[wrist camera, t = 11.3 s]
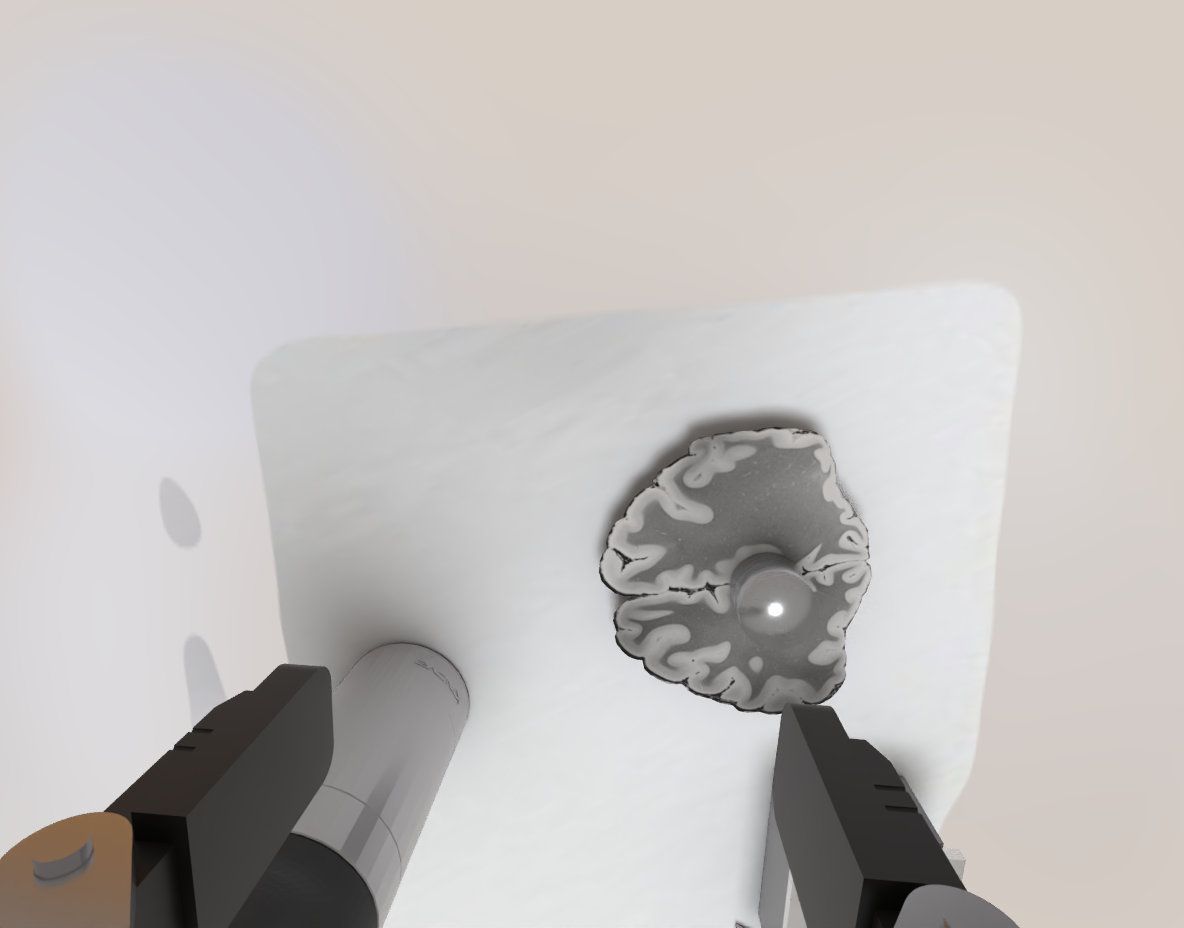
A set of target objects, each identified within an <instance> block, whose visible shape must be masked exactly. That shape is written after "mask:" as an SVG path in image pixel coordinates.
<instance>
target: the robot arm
mask: <svg viewBox="0 0 1184 928" xmlns="http://www.w3.org/2000/svg"><path fill="white" fill-rule="evenodd" d="M468 712H469V697H468V693H467V689H466V686H465V683H464V682H463V680H462V678H461V676H460V674H459V673H458V671H457V670H456V669H455V668H454V667H453V666H452V664H451V663H450V662H448V661H447V660H446V659H445V658H443V657H442V656H441V655H439V654H437V653H435V652H434V651H432V650H430V649H428V648H425V647H421V646H418V645H414V644H404V643H398V644H388V645H385V646H382V647H379V648H376V649H374V650H372V651H371V652H369V653H367V654H366V655H365V656H363V657H362V658H361V659H360V660H359V661H358V662H357V663H356V664H355V666H354V667H353V668H352V669H351V671H350V672H349V673H348V675H347V676H346V677H345V678H344V680H343V681H342V682H341V683H340V685H339V686H338V687H337V688H336V690H335V691H334V692H333V693H332V690H331V676H330V673H329V670H328V669H327V668H326V667H321V666H308V665H295V664H282V665H279V666H278V667H277V668H276V669H275V670H274V671H273V672H272V673H271V674H270V675H269V676H268V677H267V678H266V679H265V680H264V681H263V682H262V683H261V684H260V685H259V686H258V687H257V688H256V689H255V690H254V691H244V692H242V693H240V694H238V695H237V696H235V697H233V698H231V699H229V700H227V701H225V702H224V703H222V704H220V705H218V706H216V707H215V708H214V709H213V710H212V711H211V712H209V713H208V714H207V715H206V716H205V717H204V718H203V719H202V720H201V721H200V722H199V723H198V724H197V725H196V726H194V727H193V730H192V732H188V733H187V734H186V735H185V736H184V737H183V738H182V739H181V740H180V741H178V742H177V743H176V744H175V745H174V749H173V750H169V751H168V752H167V753H166V754H165V755H163V756H162V757H161V758H160V759H159V760H158V761H157V762H156V763H155V764H154V765H153V766H152V767H151V768H150V769H148V770H147V771H146V772H145V773H144V774H143V775H142V776H141V777H140V778H139V779H138V780H137V781H136V782H135V783H134V784H132V785H131V786H130V787H129V788H128V789H127V790H126V791H125V792H124V793H123V794H122V795H121V796H120V797H119V798H117V799H116V800H115V802H113V803H112V804H111V805H110V806H109V807H108V808H107V809H106V810H105V811H104V812H95V813H87V814H82V815H78V816H74V817H70V818H67V819H64V820H61V821H58V822H56V823H53V824H51V825H49V826H47V827H45V828H43V829H41V830H39V831H37V832H35V833H33V834H32V835H30V836H28V837H27V838H25V839H23V840H22V841H21V842H19V843H18V844H17V845H15V846H14V847H13V848H11V849H10V850H9V851H8V852H7V853H6V854H5V855H4V856H3V857H2V858H1V859H0V928H382V927H383V924H384V922H385V920H386V917H387V915H388V912H389V910H390V907H391V905H392V902H393V900H394V898H395V895H396V892H397V889H398V887H399V885H400V882H401V880H402V877H403V875H404V872H405V870H406V868H407V865H408V863H409V860H410V858H411V855H412V853H413V850H414V848H415V846H416V843H417V841H418V838H419V836H420V833H421V831H422V828H423V826H424V824H425V821H426V819H427V816H428V814H429V811H430V809H431V806H432V804H433V802H434V799H435V797H436V794H437V792H438V789H439V787H440V785H441V782H442V780H443V777H444V775H445V772H446V770H447V767H448V765H449V763H450V760H451V758H452V756H453V753H454V751H455V748H456V746H457V743H458V741H459V738H460V736H461V733H462V731H463V728H464V726H465V723H466V721H467V718H468ZM773 807H774V814H775V820H776V824H777V827H778V830H779V834H780V837H781V841H782V844H783V848H784V851H785V854H786V858H787V861H788V865H789V868H790V871H791V875H792V878H793V882H794V885H795V888H796V892H797V895H798V899H799V902H800V905H801V909H802V912H803V916H804V919H805V922H806V926H807V928H1019V927H1018V926H1017V925H1016V924H1015V922H1014V921H1013V920H1011V919H1010V918H1009V917H1008V916H1007V915H1006V914H1004V913H1003V912H1002V911H1001V910H999V909H998V908H996V907H995V906H994V905H992V904H991V903H989V902H987V901H986V900H984V899H982V898H980V897H978V896H976V895H974V894H972V893H970V892H967V890H966V888H965V887H964V885H963V883H962V882H961V880H960V878H959V877H958V875H957V873H956V871H955V870H954V868H953V866H952V865H951V863H950V861H949V860H948V858H947V856H946V855H945V853H944V851H943V850H942V848H941V846H940V845H939V843H938V841H937V839H936V838H935V836H934V834H933V833H932V831H931V829H930V828H929V826H928V824H927V823H926V821H925V819H924V818H923V816H922V814H920V813H918V807H917V806H916V804H915V802H914V801H913V799H912V797H911V796H910V794H909V792H906V790H905V786H904V784H903V782H902V780H901V779H900V777H899V775H898V774H897V772H896V770H895V769H894V767H893V765H892V764H891V762H890V761H889V760H888V759H887V758H885V757H884V756H883V755H882V754H881V753H880V752H879V751H877V750H876V749H875V748H874V747H873V746H872V745H871V744H869V743H868V742H867V741H866V740H860V739H849V737H848V735H847V733H846V732H845V730H844V728H843V726H842V724H841V722H840V720H839V718H838V716H837V714H836V713H835V711H834V709H833V708H832V707H830V706H822V705H809V704H795V703H786V704H785V705H784V707H783V711H782V716H781V723H780V731H779V739H778V746H777V754H776V762H775V769H774V777H773Z"/></svg>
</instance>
